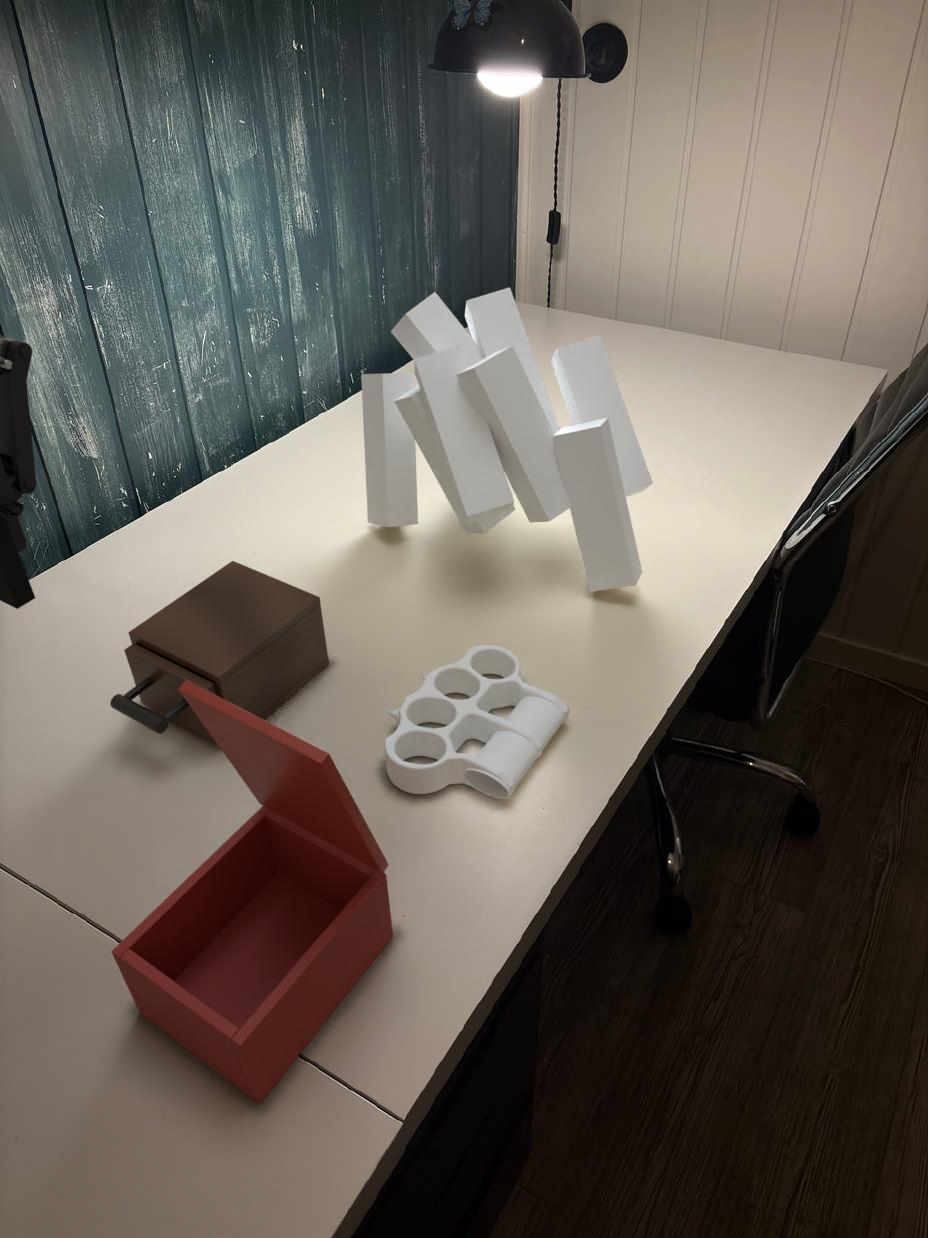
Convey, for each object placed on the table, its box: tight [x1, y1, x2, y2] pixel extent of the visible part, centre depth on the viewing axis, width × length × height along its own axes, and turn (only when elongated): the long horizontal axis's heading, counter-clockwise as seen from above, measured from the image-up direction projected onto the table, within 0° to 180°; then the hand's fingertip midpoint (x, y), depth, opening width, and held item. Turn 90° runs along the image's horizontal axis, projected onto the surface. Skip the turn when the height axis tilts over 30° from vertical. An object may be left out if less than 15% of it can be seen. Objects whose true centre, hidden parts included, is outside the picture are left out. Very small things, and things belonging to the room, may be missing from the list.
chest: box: [110, 805, 394, 1104], centre depth 65 cm, size 15×12×8 cm
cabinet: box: [128, 560, 330, 721], centre depth 89 cm, size 14×12×9 cm
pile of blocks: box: [360, 287, 654, 592], centre depth 107 cm, size 35×30×35 cm
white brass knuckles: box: [384, 644, 570, 800], centre depth 85 cm, size 3×18×15 cm
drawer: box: [109, 643, 218, 745], centre depth 87 cm, size 17×10×7 cm, turn 147°
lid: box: [179, 680, 389, 873], centre depth 61 cm, size 16×12×1 cm
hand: (14, 597), depth 64 cm, fingers closed
